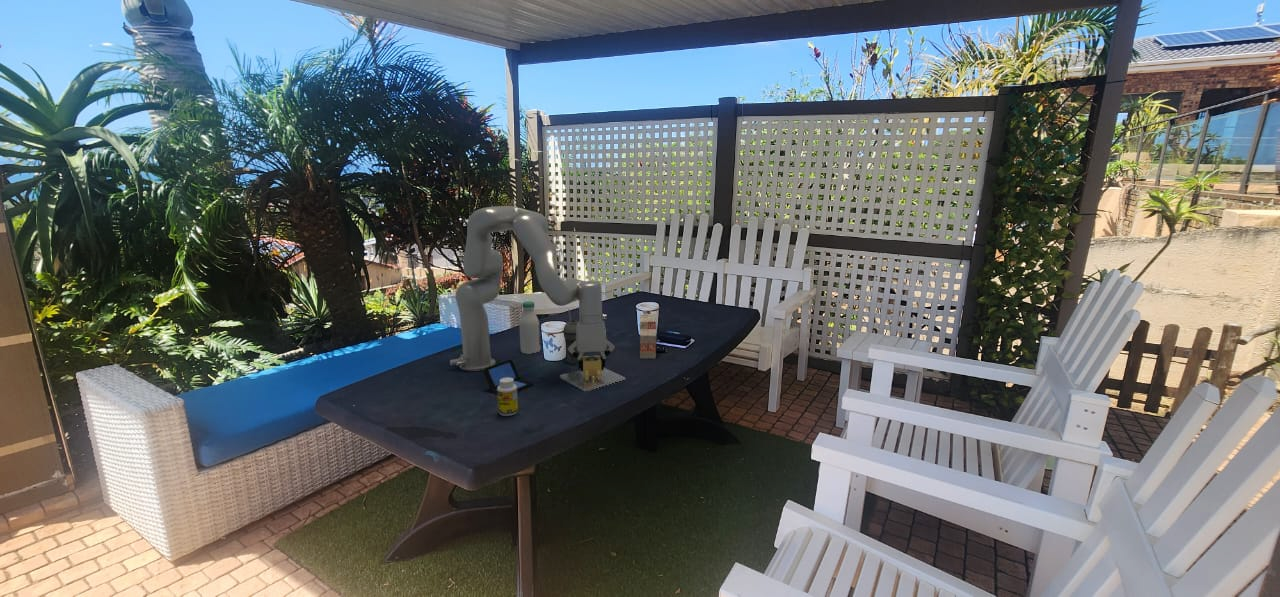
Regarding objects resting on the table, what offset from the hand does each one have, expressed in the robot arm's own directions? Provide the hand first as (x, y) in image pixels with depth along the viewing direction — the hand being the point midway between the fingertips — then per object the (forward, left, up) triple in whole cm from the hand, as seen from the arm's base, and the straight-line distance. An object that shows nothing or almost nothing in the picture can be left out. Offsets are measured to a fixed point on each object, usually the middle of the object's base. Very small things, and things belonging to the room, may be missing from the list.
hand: (591, 369), depth 180 cm
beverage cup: (+5, +20, -4) cm, 21 cm away
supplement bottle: (-34, -7, -4) cm, 35 cm away
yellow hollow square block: (-1, -1, -1) cm, 2 cm away
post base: (0, 0, -4) cm, 4 cm away
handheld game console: (-25, +11, -4) cm, 28 cm away
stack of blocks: (+35, +13, -4) cm, 38 cm away
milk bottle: (-2, +41, -4) cm, 41 cm away
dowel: (-2, -4, -4) cm, 6 cm away
